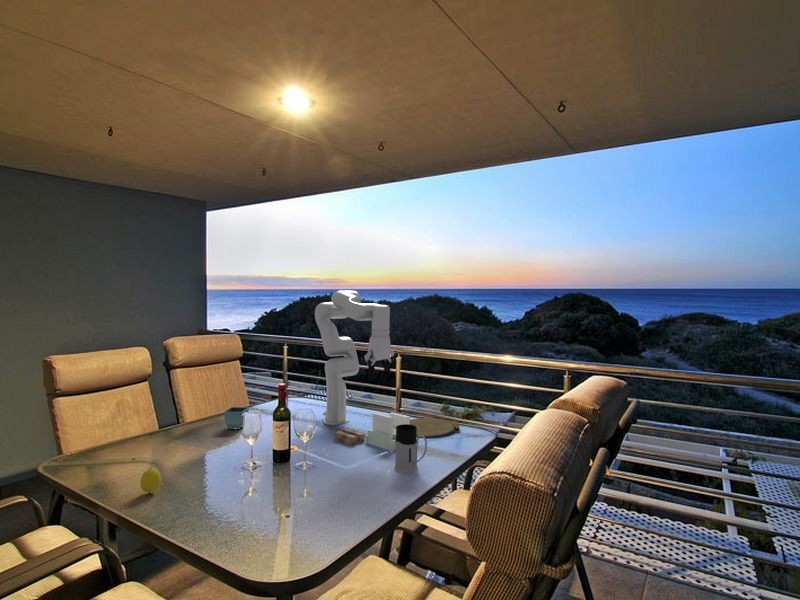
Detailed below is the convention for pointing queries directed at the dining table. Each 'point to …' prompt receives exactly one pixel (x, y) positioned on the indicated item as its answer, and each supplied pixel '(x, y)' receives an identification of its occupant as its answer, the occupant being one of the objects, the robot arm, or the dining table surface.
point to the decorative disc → (434, 427)
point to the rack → (386, 440)
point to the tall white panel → (383, 424)
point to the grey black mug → (407, 449)
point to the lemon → (150, 480)
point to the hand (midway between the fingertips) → (379, 372)
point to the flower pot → (234, 417)
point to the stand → (349, 437)
